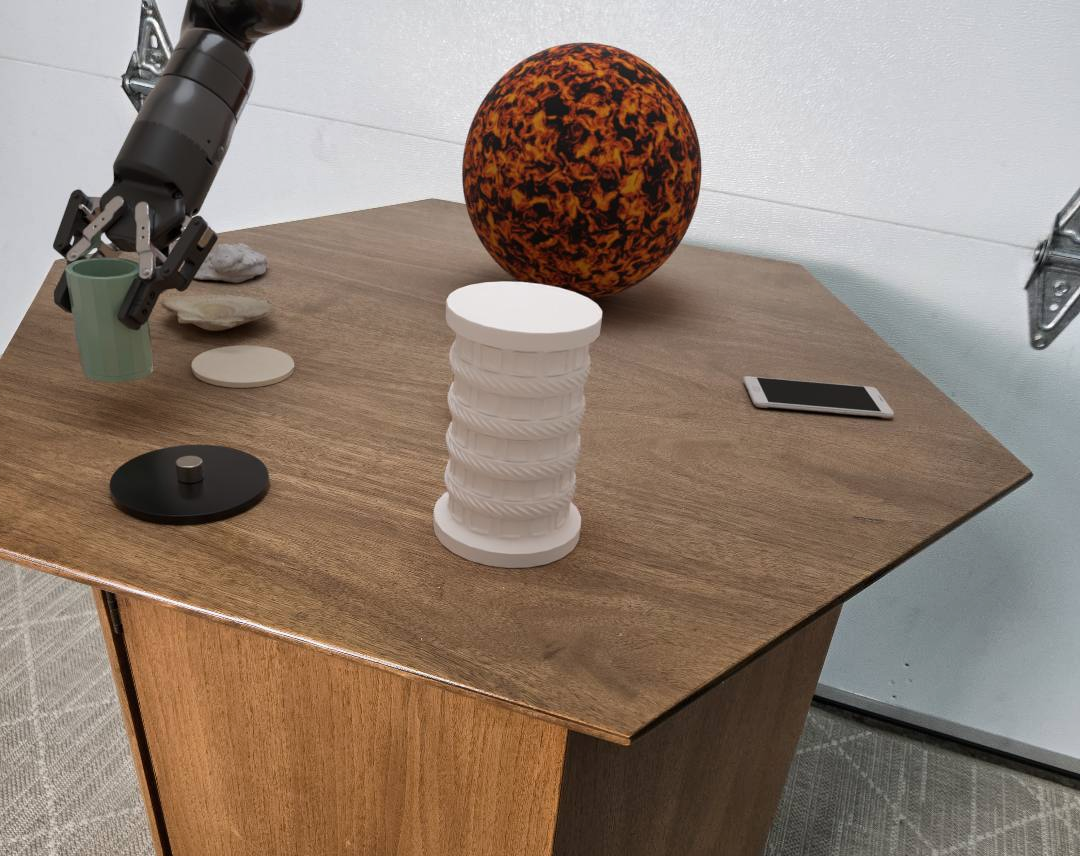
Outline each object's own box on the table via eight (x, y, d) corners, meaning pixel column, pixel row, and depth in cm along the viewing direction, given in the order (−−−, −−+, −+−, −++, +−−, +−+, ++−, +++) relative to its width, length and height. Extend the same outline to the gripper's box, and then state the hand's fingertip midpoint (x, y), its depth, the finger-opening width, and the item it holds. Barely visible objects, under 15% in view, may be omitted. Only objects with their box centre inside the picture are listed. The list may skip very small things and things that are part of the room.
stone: (264, 242, 130) (274, 244, 121) (266, 278, 131) (276, 283, 123) (185, 241, 126) (190, 243, 118) (188, 278, 128) (193, 283, 119)
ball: (528, 344, 113) (552, 55, 97) (419, 269, 134) (425, 22, 118) (726, 320, 127) (775, 64, 111) (600, 256, 148) (626, 33, 132)
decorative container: (429, 564, 72) (437, 328, 62) (435, 488, 82) (443, 274, 72) (586, 571, 73) (617, 340, 63) (573, 495, 83) (599, 285, 73)
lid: (77, 490, 76) (72, 464, 75) (198, 439, 85) (195, 415, 84) (184, 542, 71) (181, 515, 70) (300, 483, 80) (299, 458, 79)
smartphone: (742, 375, 108) (876, 386, 109) (741, 380, 109) (874, 391, 109) (754, 402, 102) (896, 414, 102) (753, 408, 102) (894, 420, 103)
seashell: (239, 301, 117) (237, 277, 115) (294, 330, 110) (293, 305, 108) (145, 318, 109) (142, 293, 108) (199, 350, 102) (196, 324, 101)
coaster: (170, 368, 98) (169, 363, 98) (245, 343, 105) (244, 338, 105) (242, 396, 94) (241, 390, 93) (315, 368, 101) (314, 362, 101)
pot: (67, 369, 85) (50, 266, 80) (124, 352, 89) (110, 253, 84) (112, 388, 82) (97, 283, 78) (168, 369, 87) (157, 268, 82)
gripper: (83, 104, 83) (-5, 276, 80) (225, 131, 79) (139, 312, 76) (134, 161, 90) (56, 321, 87) (267, 188, 87) (190, 356, 83)
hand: (95, 316), depth 82 cm, fingers closed on pot, 6 cm apart
